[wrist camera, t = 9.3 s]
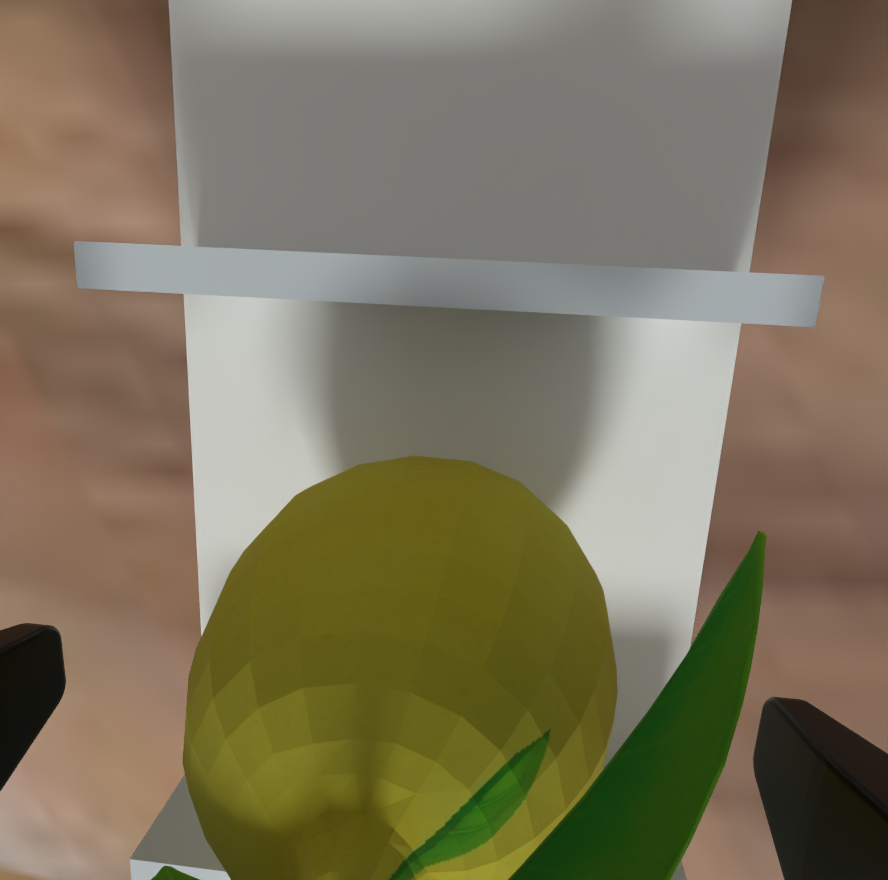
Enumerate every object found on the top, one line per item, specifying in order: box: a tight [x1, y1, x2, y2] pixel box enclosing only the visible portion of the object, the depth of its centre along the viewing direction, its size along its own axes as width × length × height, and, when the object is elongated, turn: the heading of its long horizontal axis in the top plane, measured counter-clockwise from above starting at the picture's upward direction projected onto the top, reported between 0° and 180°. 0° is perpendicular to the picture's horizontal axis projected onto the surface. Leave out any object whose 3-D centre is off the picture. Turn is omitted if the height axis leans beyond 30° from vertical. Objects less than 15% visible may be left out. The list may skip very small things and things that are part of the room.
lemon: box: [151, 456, 766, 880], centre depth 8 cm, size 7×6×10 cm
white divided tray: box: [73, 0, 825, 880], centre depth 10 cm, size 10×21×4 cm, turn 177°
